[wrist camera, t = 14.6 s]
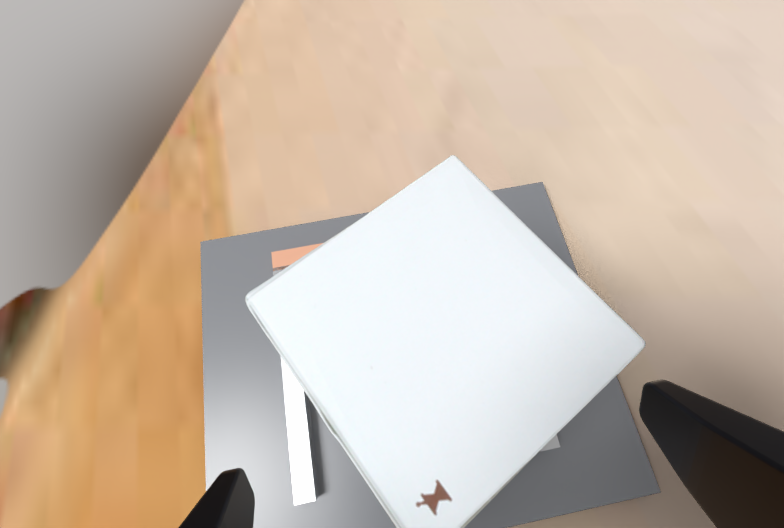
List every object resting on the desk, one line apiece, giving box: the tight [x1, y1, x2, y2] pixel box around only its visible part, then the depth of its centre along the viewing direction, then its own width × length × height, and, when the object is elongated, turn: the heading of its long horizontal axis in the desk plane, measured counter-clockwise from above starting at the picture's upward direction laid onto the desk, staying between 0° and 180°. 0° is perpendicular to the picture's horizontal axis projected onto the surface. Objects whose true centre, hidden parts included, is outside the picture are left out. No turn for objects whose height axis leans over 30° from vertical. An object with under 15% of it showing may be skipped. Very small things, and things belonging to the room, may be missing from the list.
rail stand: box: [201, 182, 661, 528], centre depth 21 cm, size 18×22×2 cm
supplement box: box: [245, 155, 645, 528], centre depth 15 cm, size 7×7×13 cm
